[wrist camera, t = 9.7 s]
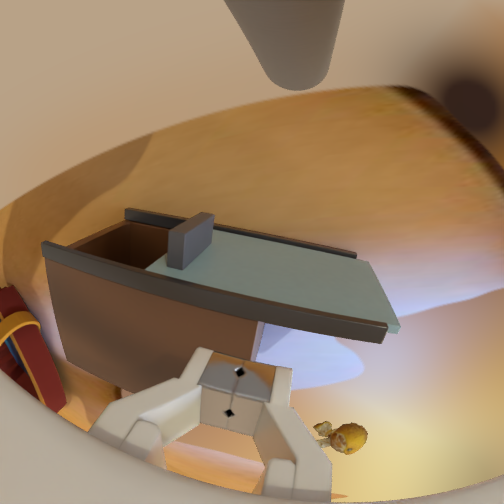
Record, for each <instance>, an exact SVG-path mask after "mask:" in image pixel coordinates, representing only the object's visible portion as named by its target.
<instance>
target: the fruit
mask: <svg viewBox="0 0 504 504" xmlns="http://www.w3.org/2000/svg"><path fill="white" fill-rule="evenodd" d="M331 426H332V424H331V423H330V422H327V421H325V422H323V423H320V424H317V425H315V426H314V427H313V428H315V430H316V431H317V432H318V433H319V436H325V437H328V436H329V437H328V438H326V439H322V440H317V443H318V444H319V446H320V447H321V448H325V447H327V446H331V447H332V448H334V449H335V450H336V451H339V452H341V453H345V454H346V455H349V454H352V453H355V452H356V451H358V450H359V449H360V448H361V447H362V446H363V445H364V444H365V443H366V440H367V435H368V433H367V431H366V430H365V428H363V426H359V425H357V424H356V423H351V424H343V425H342V426H340V427H339V428H338V429H334V430H332V429H331Z"/></svg>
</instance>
